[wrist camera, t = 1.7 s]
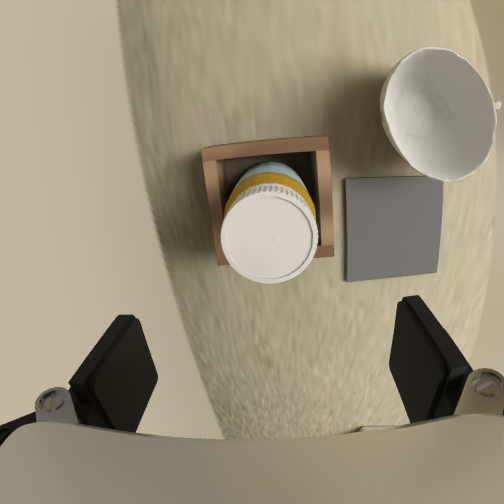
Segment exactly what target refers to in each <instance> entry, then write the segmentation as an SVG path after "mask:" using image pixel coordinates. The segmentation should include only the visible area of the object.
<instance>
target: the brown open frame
mask: <svg viewBox="0 0 504 504" xmlns="http://www.w3.org/2000/svg"><path fill="white" fill-rule="evenodd" d="M305 151H310V156H311V169H312V182H313V197H314V207H315V214H316V224H317V230H318V243H317V248H316V252H315V254H314V257H313V258H320V257H332V256H334V231H333V204H332V184H331V168H330V153H329V141H328V137H326V136H307V137H292V138H279V139H268V140H258V141H248V142H239V143H231V144H223V145H215V146H209V147H206V148H202V149H201V154H202V162H203V169H204V176H205V183H206V191H207V197H208V204H209V211H210V218H211V224H212V231H213V237H214V244H215V250H216V256H217V263H218V265H230V263H229V262H228V260H227V259H226V257H225V255H224V252H223V249H222V246H221V236H220V234H221V228H222V223H223V220H224V214H225V207H226V203H227V201H228V199H229V194H228V186H227V179H226V171H225V163H224V159H229V158H238V157H247V156H257V155H267V154H278V153H291V152H305Z"/></svg>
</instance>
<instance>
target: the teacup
mask: <svg viewBox="0 0 504 504" xmlns="http://www.w3.org/2000/svg"><path fill="white" fill-rule="evenodd" d="M500 107H501V102H500V101H499V100H493V97H492V95H491V93H490V91H489V89H488V87H487V85H486V83H485V80H484V79H483V78H482V77H481V76H480V75H479V73H478V72H477V71H476V70H475V69H474V67H473V66H472V64H471V63H470V62H468V61H467V60H466V59H465V58H463V57H461V56H459V55H458V54H457V53H456V52H454V51H452V50H449V49H445V48H438V47H424V48H420V49H417V50H414V51H412V52H411V53H409V54H408V55H406V56H405V57H404V58H402V59H401V60H400V61H399V62H398V63H397V64H396V65H395V66H394V67H393V68H392V70H391V71H390V73H389V74H388V76H387V78H386V80H385V83H384V85H383V87H382V91H381V95H380V117H381V121H382V125H383V128H384V131H385V133H386V135H387V137H388V139H389V141H390V143H391V144H392V146H393V147H394V149H395V150H396V151H397V152H398V153H399V155H400V156H401V157H402V158H403V159H404V160H405V161H406V162H407V163H409V164H410V165H411V166H412V167H413V168H414V169H415V170H416V171H418V172H419V173H421V174H423V175H425V176H427V177H429V178H432V179H436V180H441V181H444V182H450V181H457V180H460V179H463V178H465V177H468V176H470V175H471V174H473V173H474V172H476V171H477V170H479V168H480V167H481V166H482V165H483V164H484V162H485V161H486V160H487V159H488V158H489V157H488V156H489V155H490V152H491V149H492V147H493V144H494V141H495V137H494V131H495V129H496V123H497V115H496V109H499V108H500Z"/></svg>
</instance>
